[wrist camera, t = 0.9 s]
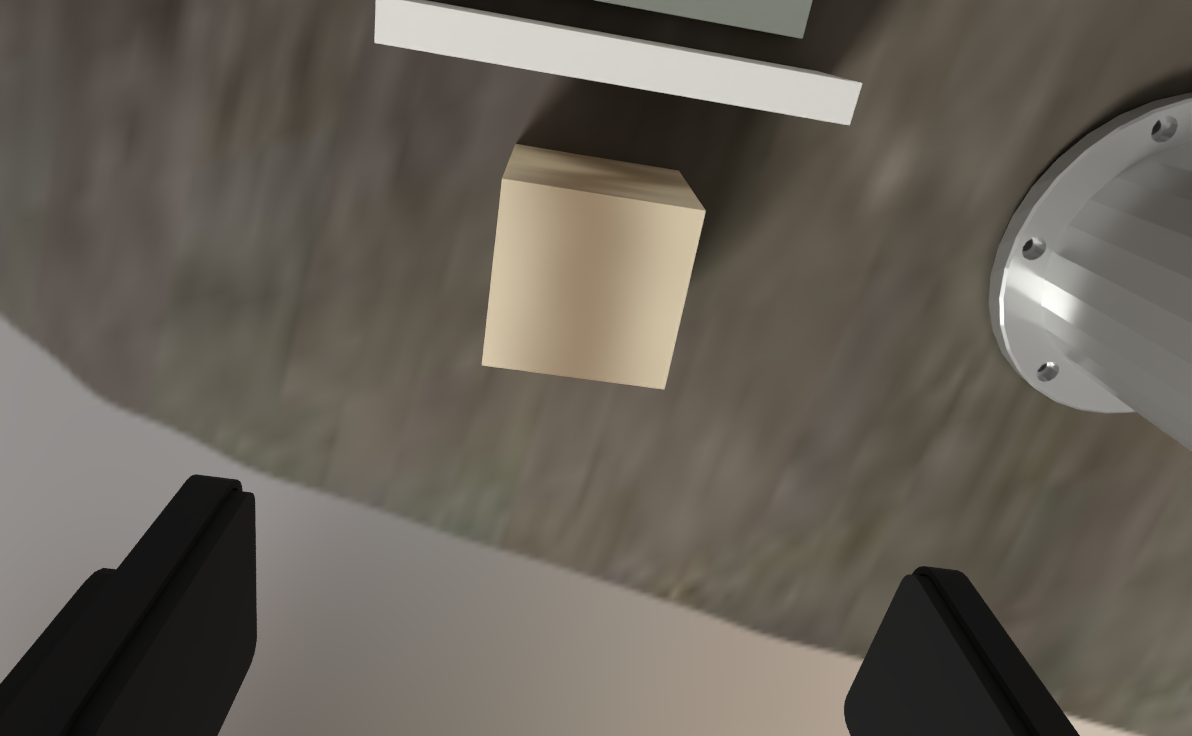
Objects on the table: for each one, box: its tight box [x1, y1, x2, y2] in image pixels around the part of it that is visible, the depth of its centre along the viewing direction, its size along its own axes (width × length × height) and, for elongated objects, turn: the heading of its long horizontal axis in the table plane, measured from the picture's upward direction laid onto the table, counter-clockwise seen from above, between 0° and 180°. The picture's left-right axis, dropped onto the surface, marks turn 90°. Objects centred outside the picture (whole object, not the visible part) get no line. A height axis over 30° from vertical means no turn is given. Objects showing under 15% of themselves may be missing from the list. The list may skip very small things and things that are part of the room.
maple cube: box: [482, 144, 706, 389], centre depth 25 cm, size 6×6×6 cm
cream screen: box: [375, 0, 862, 125], centre depth 23 cm, size 14×1×4 cm, turn 80°
